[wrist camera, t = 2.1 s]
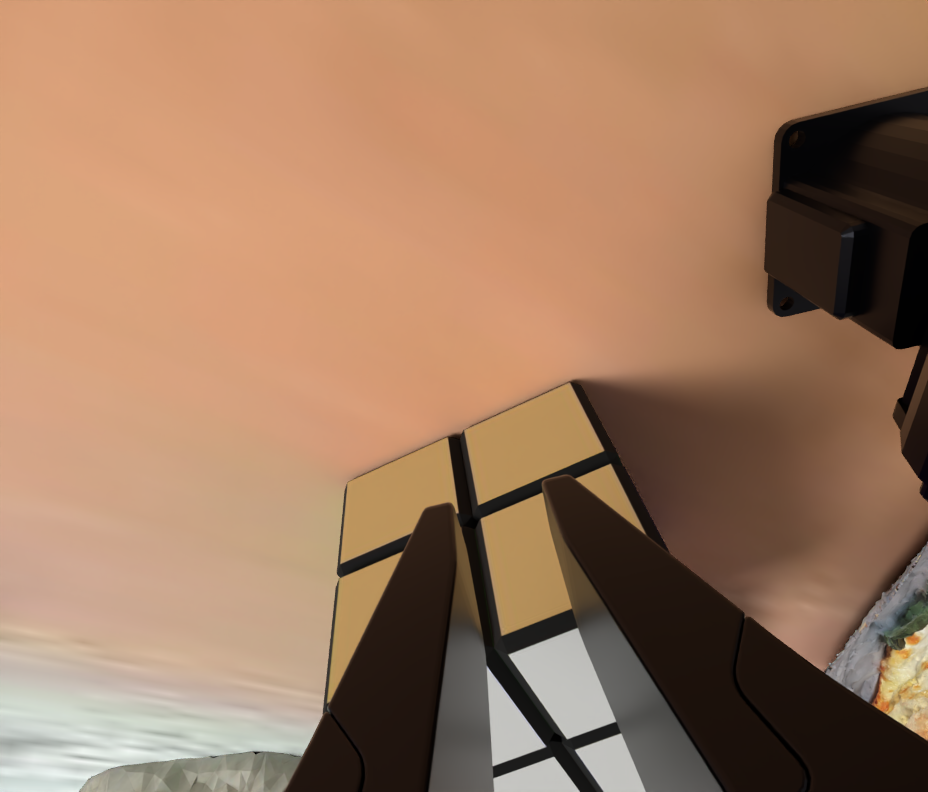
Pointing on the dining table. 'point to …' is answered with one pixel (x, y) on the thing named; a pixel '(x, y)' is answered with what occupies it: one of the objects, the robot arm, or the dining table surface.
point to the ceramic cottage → (201, 775)
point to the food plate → (893, 651)
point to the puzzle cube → (504, 581)
